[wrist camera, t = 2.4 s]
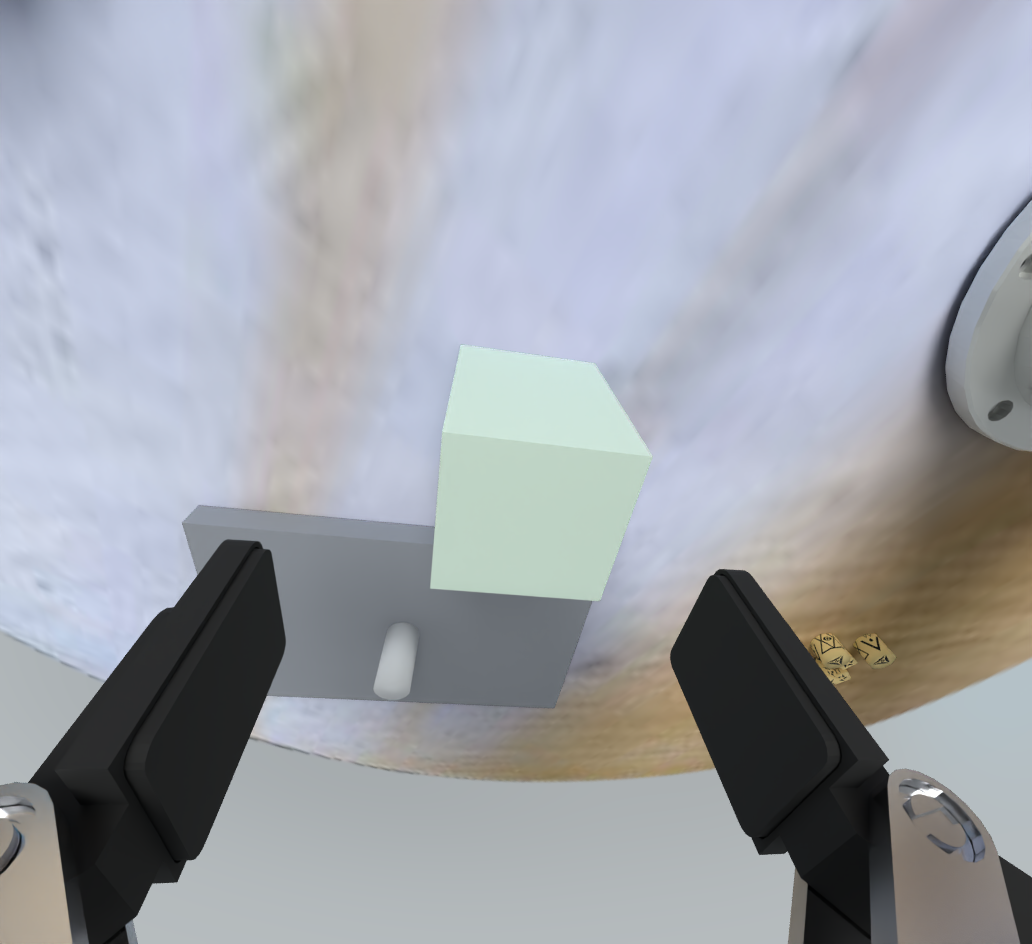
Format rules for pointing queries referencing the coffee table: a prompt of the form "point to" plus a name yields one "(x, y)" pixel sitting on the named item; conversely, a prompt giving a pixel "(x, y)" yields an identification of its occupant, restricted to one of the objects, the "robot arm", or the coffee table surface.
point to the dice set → (849, 655)
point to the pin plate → (394, 616)
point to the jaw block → (533, 477)
